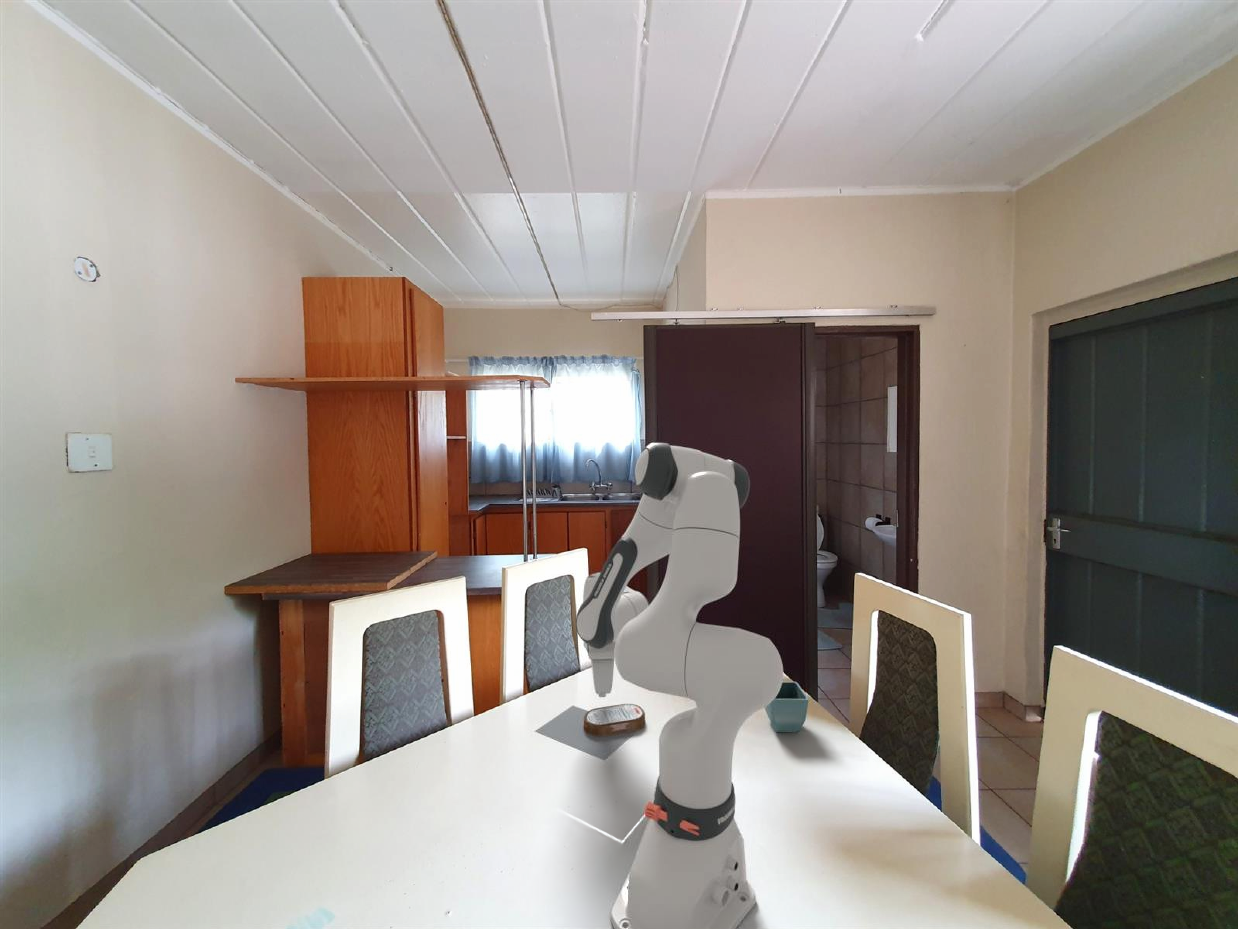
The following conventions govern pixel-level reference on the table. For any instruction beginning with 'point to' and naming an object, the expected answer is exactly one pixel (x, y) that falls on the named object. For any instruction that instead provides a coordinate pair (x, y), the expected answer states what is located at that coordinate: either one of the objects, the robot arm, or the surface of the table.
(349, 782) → the table surface
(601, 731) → the tin
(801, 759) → the table surface
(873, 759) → the table surface
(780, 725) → the flower pot
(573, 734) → the mat
